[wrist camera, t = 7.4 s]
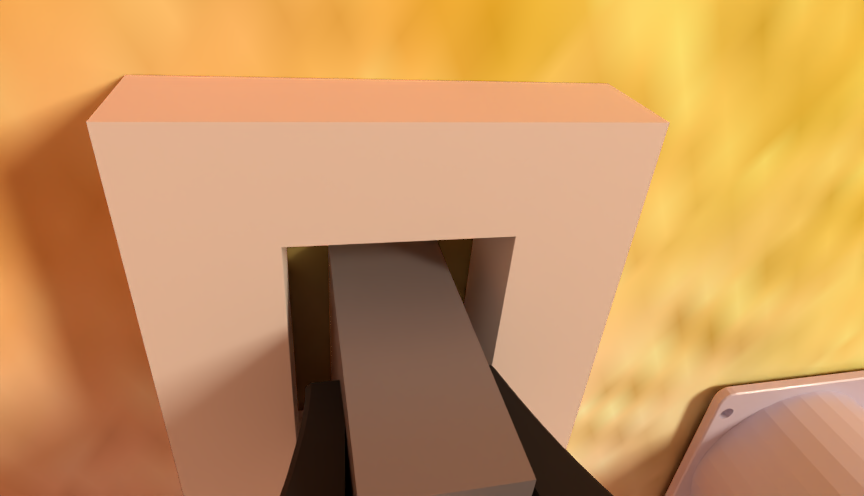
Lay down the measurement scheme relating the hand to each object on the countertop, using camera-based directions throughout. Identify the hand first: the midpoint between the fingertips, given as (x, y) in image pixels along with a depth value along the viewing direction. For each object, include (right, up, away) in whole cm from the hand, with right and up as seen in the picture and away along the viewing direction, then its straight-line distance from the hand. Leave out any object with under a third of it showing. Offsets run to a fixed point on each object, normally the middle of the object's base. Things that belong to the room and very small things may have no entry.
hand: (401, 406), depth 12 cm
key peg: (-1, +2, +3) cm, 3 cm away
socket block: (-1, +2, +3) cm, 3 cm away
